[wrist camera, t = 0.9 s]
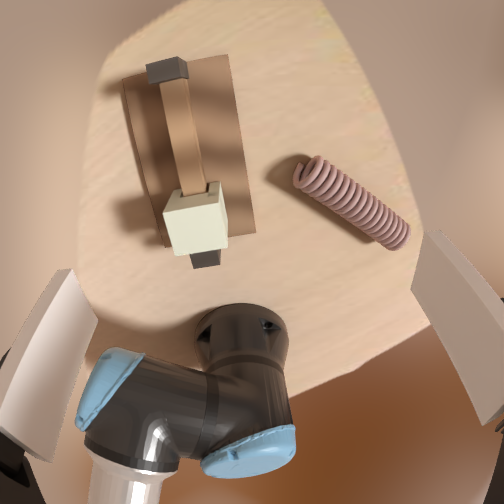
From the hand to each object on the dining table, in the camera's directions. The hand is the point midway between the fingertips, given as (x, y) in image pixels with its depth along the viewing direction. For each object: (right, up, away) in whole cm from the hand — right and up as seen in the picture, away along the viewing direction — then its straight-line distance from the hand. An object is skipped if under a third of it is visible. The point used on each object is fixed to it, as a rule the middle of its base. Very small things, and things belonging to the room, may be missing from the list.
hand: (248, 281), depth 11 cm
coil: (+13, +8, +28) cm, 32 cm away
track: (-7, +12, +24) cm, 27 cm away
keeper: (-6, +7, +26) cm, 27 cm away
